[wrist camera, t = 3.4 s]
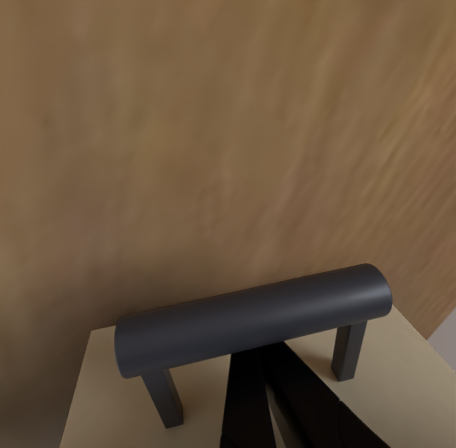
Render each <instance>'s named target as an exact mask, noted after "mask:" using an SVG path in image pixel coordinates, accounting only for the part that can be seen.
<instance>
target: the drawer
mask: <svg viewBox="0 0 456 448" xmlns="http://www.w3.org/2000/svg"><path fill="white" fill-rule="evenodd" d="M282 341H285V342H286V344H287V345H288V346H289V347H290V348H291V349H292V350H293V351H294V352H295V353H296V354H297V355H298V356H299V357H300V358H301V359H302V360H303V361H304V362H305V363H306V364H307V365H308V366H309V367H310V368H311V369H312V370H313V371H314V372H315V373H316V374H317V375H318V377H319V378H320V379H321V380H322V381H323V382H324V383H325V384H326V385H327V386H328V387H329V388H330V389H331V390H332V391H333V392H334V393H335V394H336V395H337V396H338V397H339V398H340V401H343V402H344V403H345V404H346V405H347V406H348V407H349V408H350V409H351V410H352V411H353V412H354V413H355V414H356V415H357V416H358V417H359V418H360V419H361V420H362V421H363V422H364V423H365V424H366V425H367V426H368V427H369V428H370V429H371V430H372V431H373V432H374V433H375V434H377V435H378V436H379V437H380V438H381V439H382V440H383V441H384V442H385V443H387V444H388V445H389V446H390V447H391V448H456V373H455V371H454V370H453V369H452V368H451V367H450V366H449V365H448V364H447V363H446V362H445V361H444V359H443V358H442V357H441V356H440V355H439V354H438V353H437V352H436V351H435V350H434V349H433V348H432V347H431V346H430V344H429V343H428V342H427V341H426V340H425V339H424V338H423V337H422V336H421V335H420V334H419V333H418V331H417V330H416V329H415V328H414V327H413V326H412V325H411V324H410V323H409V322H408V321H407V320H406V319H405V318H404V316H403V315H402V314H401V313H400V312H399V311H398V310H397V309H396V308H395V307H394V306H393V305H392V295H391V291H390V288H389V285H388V283H387V281H386V279H385V277H384V276H383V274H382V273H381V272H380V271H379V270H378V269H377V268H376V267H375V266H373V265H371V264H366V263H365V264H360V265H355V266H351V267H346V268H342V269H337V270H332V271H328V272H323V273H319V274H314V275H310V276H305V277H300V278H296V279H291V280H287V281H282V282H278V283H273V284H268V285H264V286H259V287H255V288H250V289H245V290H241V291H236V292H232V293H227V294H223V295H218V296H213V297H209V298H204V299H200V300H195V301H190V302H186V303H181V304H177V305H172V306H168V307H163V308H158V309H154V310H149V311H145V312H140V313H136V314H131V315H126V316H122V317H120V318H119V319H118V321H117V323H116V325H115V326H110V327H106V328H101V329H97V330H92V331H91V334H90V337H89V341H88V345H87V348H86V352H85V356H84V359H83V363H82V367H81V370H80V374H79V378H78V381H77V385H76V389H75V392H74V396H73V400H72V403H71V407H70V411H69V414H68V418H67V422H66V425H65V429H64V433H63V436H62V440H61V444H60V447H59V448H219V445H220V437H221V434H222V432H221V430H222V422H223V414H224V406H225V397H226V389H227V381H228V373H229V365H230V356H231V354H233V353H237V352H241V351H245V350H249V349H253V348H257V347H261V346H265V345H269V344H274V343H278V342H282ZM269 409H270V414H271V420H272V425H273V431H274V436H275V441H276V447H277V448H286V447H285V444H284V442H283V439H282V437H281V434H280V432H279V429H278V426H277V424H276V421H275V419H274V416H273V413H272V411H271V408H270V406H269Z"/></svg>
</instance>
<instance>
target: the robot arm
mask: <svg viewBox="0 0 456 448" xmlns="http://www.w3.org/2000/svg"><path fill="white" fill-rule="evenodd" d="M269 406H270V408H271V411H272V413H273V416H274V419H275V421H276V424H277V426H278V429H279V432H280V434H281V437H282V439H283V442H284V444H285V447H286V448H391V447H390V446H389V445H388V444H387V443H385V442H384V441H383V440H382V439H381V438H380V437H379V436H378V435H377V434H375V433H374V432H373V431H372V430H371V429H370V428H369V427H368V426H367V425H366V424H365V423H364V422H363V421H362V420H361V419H360V418H359V417H358V416H357V415H356V414H355V413H354V412H353V411H352V410H351V409H350V408H349V407H348V406H347V405H346V404H345V403H344V402H343V401H340V398H339V397H338V396H337V395H336V394H335V393H334V392H333V391H332V390H331V389H330V388H329V387H328V386H327V385H326V384H325V383H324V382H323V381H322V380H321V379H320V378H319V377H318V375H317V374H316V373H315V372H314V371H313V370H312V369H311V368H310V367H309V366H308V365H307V364H306V363H305V362H304V361H303V360H302V359H301V358H300V357H299V356H298V355H297V354H296V353H295V352H294V351H293V350H292V349H291V348H290V347H289V346H288V345H287V344H286V342H285V341H282V342H278V343H274V344H269V345H265V346H261V347H257V348H253V349H249V350H245V351H241V352H237V353H233V354H231V356H230V365H229V373H228V381H227V389H226V397H225V406H224V414H223V422H222V430H221V432H222V434H221V437H220V445H219V448H277V447H276V441H275V436H274V431H273V425H272V420H271V414H270V409H269Z"/></svg>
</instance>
